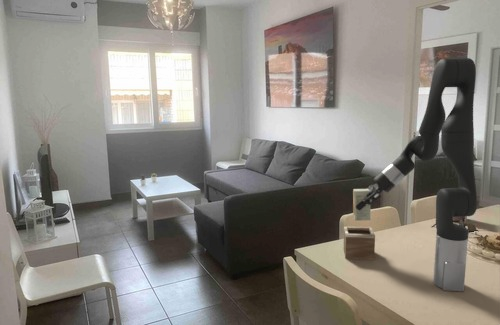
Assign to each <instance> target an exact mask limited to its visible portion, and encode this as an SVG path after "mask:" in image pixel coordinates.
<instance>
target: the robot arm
mask: <svg viewBox="0 0 500 325" xmlns="http://www.w3.org/2000/svg"><path fill="white" fill-rule="evenodd" d="M476 67H477V66H476V63H475V61H474V60H473V58H470V57H447V58H441V59H440V60H439V61H438V62H436V65H435V67H434V70H433V73H432V78H431V82H430V83H431V84H430V87H429V88H430V89H429V92H428V93H429V94H428V100H427V104H426V108H425V111H424V115H423V117H422V121H421V123H420V126H419V129H418V133H419V135H416V136H414V137H412V138H411V139H410V140H409V141H408V143H407V145H406V146H405V147H404V149H403V150H402V152H401V153H400V155H399V156H398V157H397V158H396V159H395V160H394V161H392V162H391V163H390V164H389V165H387V166H386V167H385V168H384V169H382V171H381V172H379V173H378V174H377V175H376V176H375V177H374V178H373V181H374V182H375V183H374V184H370V185H369V186H368V187H367V188H366V189H369V190H370V192H368V193H367V194H366V197H365V198H364V199H363V200H362V201H361V202H360V203H359V204H358V205H356V208H357V209H358V210H359V211H360V210H361V209H362V208H363V207H364V206H366V204H367V205H370V206H371V204H373V203H374V202H375V201H377V200H378V199H379V198H381V193H382V192H383V191H384V192H386V193H387V194H388V193H389V192H391V191H392V189H394V188H395V187H396V186H397V185H398V184H400V182H401V181H402V180H403V179H404V178H405V177H406V176H407V175H409V174H410V173H411V172H412V171H413V170H415V168H416V164H415V163H414V161H413V160H412V159H413V157H414V156H413V155H415V156H416V157H417V158H419V160H420V161H423V162H431V161H432V160H433V159H435V157H436V156H437V154H438V152H439V148H440V147H439V144H440V142H441V145H440V146H441V150H442V153H443V154H444V155H445V157H446V158H447V160H448V162H449V163H450V164H451V166H452V167H453V169H454V170H455V171H454V172H455V173H456V176H457V181H458V187H453V188H452V187H450V188H445V187H443V188H441V189H439V190H438V192H437V194H436V198H435V224H436V225H435V226H436V227H435V228H436V236H435V238H436V239H435V249H434V250H435V252H434V264H433V266H434V267H433V279H432V280H433V284H434V285H435V286H436V287H438V288H440V289H442V290H443V291H447V292H448V291H450V292H451V291H452V292H464V288H465V282H466V268H467V258H468V257H467V256H468V255H467V254H468V246H469V243H468V242H469V233H468V231H469V230H468V228H467V227H466V226H465V227H463V226H461V225H459V223H456V222H453V217H465V216H467V217H471V216H474V214H476V211H477V208H478V194H477V193H478V192H477V185H476V175H475V162H474V160H475V158H474V157H475V155H474V152H475V150H474V149H475V148H474V147H475V146H474V145H475V135H474V134H475V132H474V100H475V90H476V89H475V88H476V75H477V70H476ZM446 88H456V100H455V102H454V105H453V107H452V109H451V111H450V112H449V114H448V115H447V117H446V109H445V107H444V105H443V98H442V97H443V94H444V91H445V89H446ZM440 136H441V138H440ZM440 139H441V141H440ZM369 195H370V196H369ZM368 199H369V200H368Z"/></svg>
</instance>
